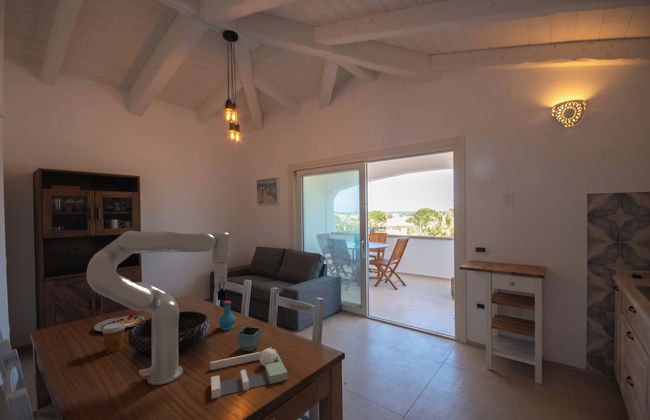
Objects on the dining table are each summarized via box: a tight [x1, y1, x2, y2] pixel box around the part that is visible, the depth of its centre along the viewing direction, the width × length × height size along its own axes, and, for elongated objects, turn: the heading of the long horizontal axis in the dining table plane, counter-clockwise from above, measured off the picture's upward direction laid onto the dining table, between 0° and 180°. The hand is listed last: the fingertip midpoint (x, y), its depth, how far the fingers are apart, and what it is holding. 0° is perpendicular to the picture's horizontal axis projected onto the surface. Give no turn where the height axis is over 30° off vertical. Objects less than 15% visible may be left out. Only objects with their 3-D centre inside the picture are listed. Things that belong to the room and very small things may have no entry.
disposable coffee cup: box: [101, 322, 126, 354], centre depth 138 cm, size 10×10×12 cm
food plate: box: [93, 314, 146, 332], centre depth 168 cm, size 25×23×4 cm
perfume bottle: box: [218, 300, 237, 331], centre depth 164 cm, size 9×9×15 cm
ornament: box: [259, 346, 276, 368], centre depth 123 cm, size 7×7×8 cm
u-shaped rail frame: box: [209, 348, 288, 400], centre depth 116 cm, size 28×21×3 cm
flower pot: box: [237, 326, 262, 352], centre depth 137 cm, size 9×9×9 cm
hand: (221, 299), depth 129 cm, fingers closed
